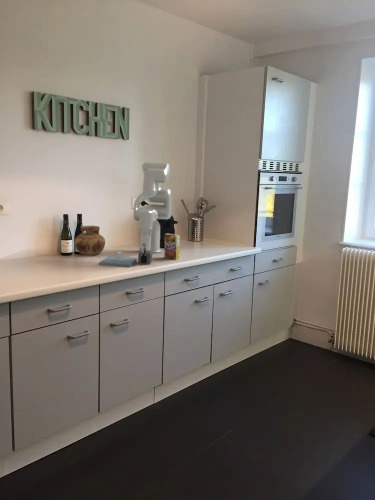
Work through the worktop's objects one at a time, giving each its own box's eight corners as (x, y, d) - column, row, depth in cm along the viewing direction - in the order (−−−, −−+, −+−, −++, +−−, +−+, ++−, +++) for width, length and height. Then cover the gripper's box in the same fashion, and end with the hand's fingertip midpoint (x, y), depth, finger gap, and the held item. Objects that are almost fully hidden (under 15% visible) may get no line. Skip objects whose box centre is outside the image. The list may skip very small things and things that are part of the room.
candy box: (163, 258, 275) (164, 233, 272) (167, 256, 279) (168, 233, 276) (175, 259, 271) (176, 235, 268) (179, 258, 274) (180, 234, 272)
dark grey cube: (140, 261, 262) (140, 250, 261) (152, 262, 261) (152, 251, 260) (138, 263, 255) (138, 252, 254) (149, 264, 255) (150, 253, 253)
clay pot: (101, 253, 266) (89, 222, 264) (75, 262, 271) (63, 232, 269) (113, 248, 285) (102, 219, 282) (88, 256, 289) (77, 228, 287)
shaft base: (109, 258, 268) (109, 248, 267) (137, 260, 266) (138, 250, 265) (98, 265, 248) (98, 254, 247) (130, 266, 246) (130, 256, 245)
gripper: (142, 229, 264) (142, 258, 267) (136, 233, 247) (135, 263, 250) (155, 229, 263) (154, 258, 266) (149, 233, 246) (148, 264, 249)
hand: (145, 260), depth 258 cm, fingers open, 7 cm apart
